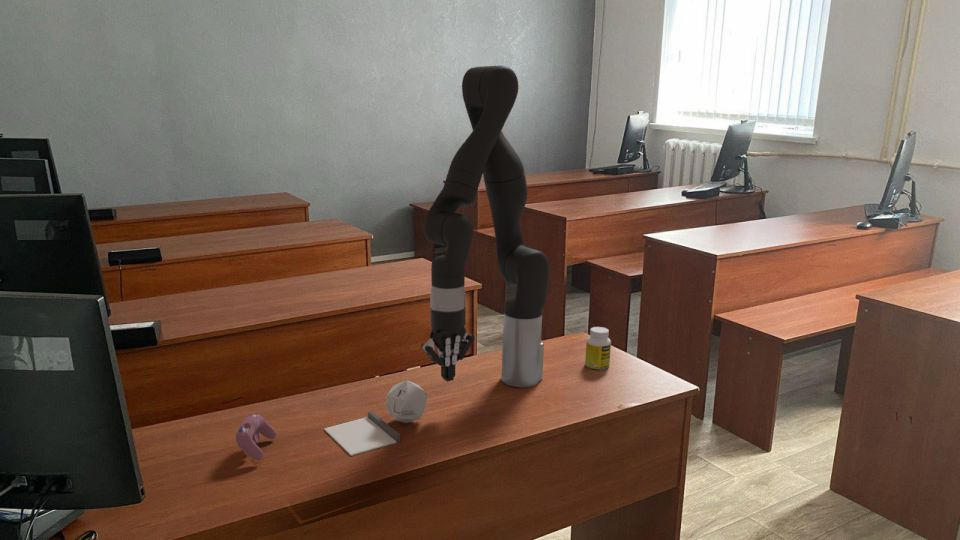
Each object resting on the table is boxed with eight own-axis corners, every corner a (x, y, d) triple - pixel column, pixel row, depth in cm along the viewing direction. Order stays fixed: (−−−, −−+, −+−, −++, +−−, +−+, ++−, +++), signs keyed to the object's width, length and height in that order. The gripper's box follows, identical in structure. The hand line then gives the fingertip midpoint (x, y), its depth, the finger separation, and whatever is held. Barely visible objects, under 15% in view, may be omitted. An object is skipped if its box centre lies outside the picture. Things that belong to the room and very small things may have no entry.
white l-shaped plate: (371, 417, 157) (371, 410, 156) (400, 441, 147) (400, 434, 146) (324, 429, 151) (324, 423, 150) (351, 456, 140) (350, 449, 140)
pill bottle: (603, 376, 182) (606, 335, 179) (580, 371, 185) (583, 330, 182) (612, 369, 187) (615, 328, 184) (590, 363, 190) (593, 324, 187)
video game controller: (257, 440, 147) (246, 410, 145) (278, 436, 146) (267, 405, 145) (240, 466, 137) (228, 433, 135) (263, 460, 137) (250, 428, 135)
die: (378, 427, 153) (377, 383, 150) (401, 410, 160) (401, 369, 158) (412, 436, 149) (412, 391, 146) (434, 419, 157) (434, 376, 154)
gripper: (463, 295, 160) (463, 367, 165) (412, 305, 153) (413, 381, 157) (483, 303, 154) (482, 378, 159) (430, 314, 147) (431, 393, 152)
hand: (448, 379), depth 158 cm, fingers closed
